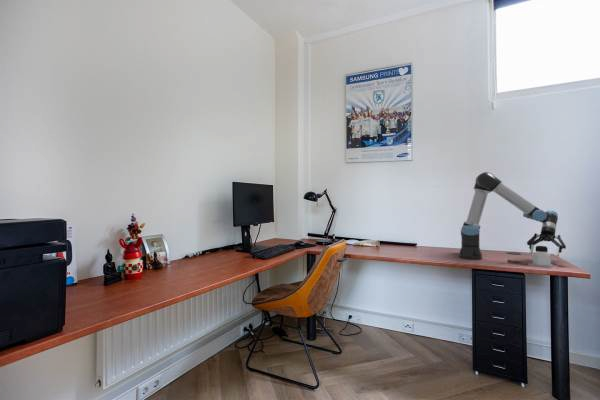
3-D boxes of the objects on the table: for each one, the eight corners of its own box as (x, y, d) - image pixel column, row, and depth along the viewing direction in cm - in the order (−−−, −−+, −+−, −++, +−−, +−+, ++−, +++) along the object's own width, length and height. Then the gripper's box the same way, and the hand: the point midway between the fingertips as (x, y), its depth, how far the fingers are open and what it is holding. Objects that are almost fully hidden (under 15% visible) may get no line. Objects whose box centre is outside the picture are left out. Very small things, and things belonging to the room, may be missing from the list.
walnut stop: (507, 262, 204) (507, 259, 203) (507, 262, 204) (507, 259, 204) (527, 265, 195) (527, 262, 195) (527, 265, 196) (527, 261, 196)
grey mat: (530, 265, 195) (530, 264, 195) (534, 263, 201) (533, 262, 201) (550, 267, 187) (550, 267, 187) (553, 265, 194) (553, 264, 194)
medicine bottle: (551, 265, 190) (551, 247, 190) (538, 265, 192) (538, 246, 192) (544, 263, 197) (544, 245, 197) (532, 263, 199) (532, 245, 199)
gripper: (573, 234, 199) (570, 260, 189) (527, 232, 217) (522, 255, 208) (572, 227, 195) (568, 253, 185) (525, 225, 214) (520, 248, 204)
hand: (544, 254), depth 196 cm, fingers open, 13 cm apart
